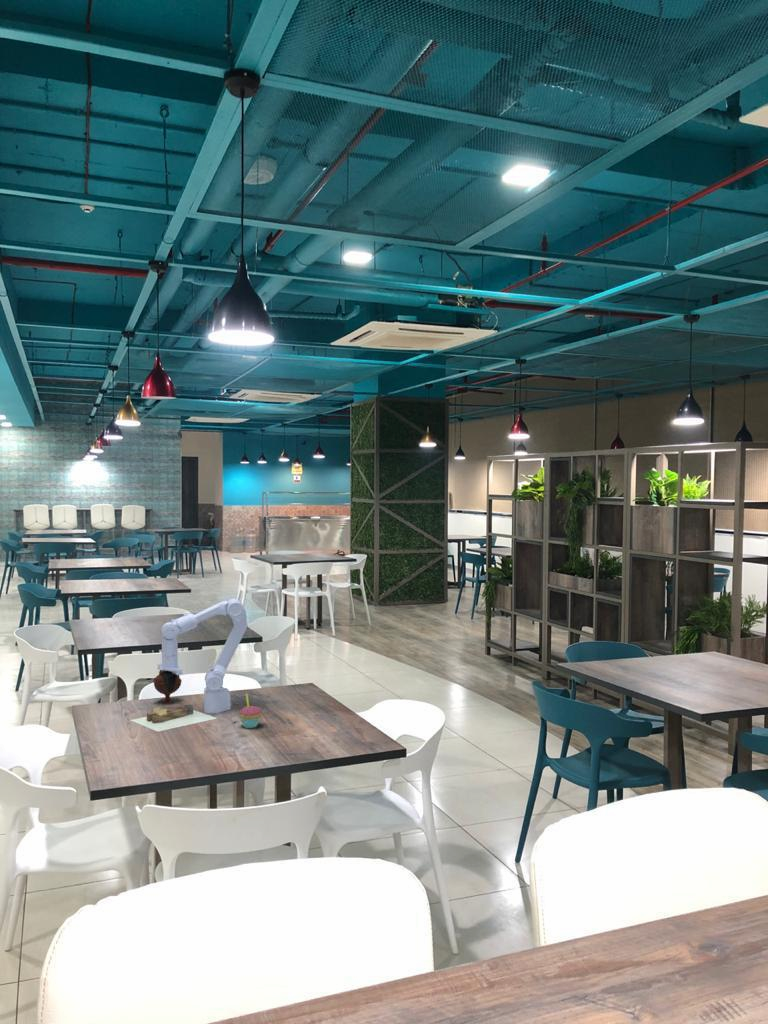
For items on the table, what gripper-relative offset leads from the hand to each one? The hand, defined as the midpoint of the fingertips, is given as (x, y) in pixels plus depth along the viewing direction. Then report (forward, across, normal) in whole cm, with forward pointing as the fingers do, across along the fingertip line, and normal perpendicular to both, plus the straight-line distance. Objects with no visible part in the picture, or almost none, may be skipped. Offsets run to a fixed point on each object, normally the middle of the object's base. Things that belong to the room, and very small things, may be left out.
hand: (169, 691), depth 304 cm
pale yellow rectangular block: (+6, +7, -8) cm, 12 cm away
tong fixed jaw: (+8, +5, -2) cm, 10 cm away
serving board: (+9, +8, -3) cm, 13 cm away
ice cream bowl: (+10, -16, +8) cm, 20 cm away
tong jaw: (+8, +7, -4) cm, 11 cm away
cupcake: (+10, +32, +14) cm, 36 cm away
